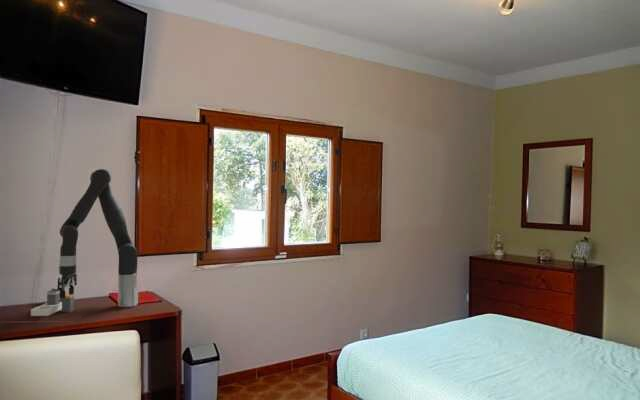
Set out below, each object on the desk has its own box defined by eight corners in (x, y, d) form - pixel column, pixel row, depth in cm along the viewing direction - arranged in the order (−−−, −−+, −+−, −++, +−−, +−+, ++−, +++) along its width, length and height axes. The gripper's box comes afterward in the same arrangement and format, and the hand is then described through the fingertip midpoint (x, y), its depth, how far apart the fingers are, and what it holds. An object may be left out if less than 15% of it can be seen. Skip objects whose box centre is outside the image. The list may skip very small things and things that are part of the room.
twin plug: (59, 308, 232) (59, 290, 232) (55, 310, 228) (55, 292, 228) (51, 308, 232) (51, 291, 232) (46, 310, 228) (47, 292, 227)
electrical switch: (66, 305, 243) (65, 288, 242) (56, 308, 238) (55, 291, 238) (57, 303, 248) (56, 286, 247) (47, 305, 244) (46, 289, 243)
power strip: (64, 309, 233) (64, 301, 233) (47, 317, 217) (47, 309, 217) (48, 309, 233) (49, 301, 233) (30, 317, 217) (30, 309, 217)
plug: (74, 311, 229) (74, 294, 229) (70, 314, 225) (70, 296, 225) (65, 312, 229) (65, 294, 229) (61, 314, 225) (61, 296, 224)
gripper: (68, 266, 220) (67, 299, 220) (82, 262, 234) (81, 293, 234) (52, 266, 219) (51, 299, 219) (67, 262, 234) (66, 293, 234)
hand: (67, 296), depth 227 cm, fingers open, 8 cm apart
